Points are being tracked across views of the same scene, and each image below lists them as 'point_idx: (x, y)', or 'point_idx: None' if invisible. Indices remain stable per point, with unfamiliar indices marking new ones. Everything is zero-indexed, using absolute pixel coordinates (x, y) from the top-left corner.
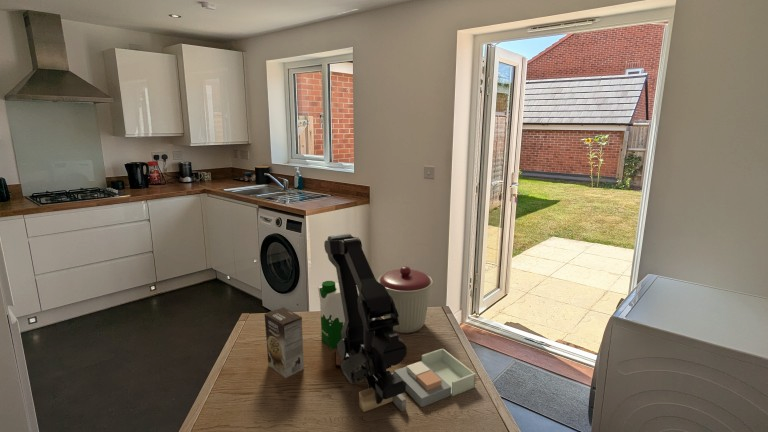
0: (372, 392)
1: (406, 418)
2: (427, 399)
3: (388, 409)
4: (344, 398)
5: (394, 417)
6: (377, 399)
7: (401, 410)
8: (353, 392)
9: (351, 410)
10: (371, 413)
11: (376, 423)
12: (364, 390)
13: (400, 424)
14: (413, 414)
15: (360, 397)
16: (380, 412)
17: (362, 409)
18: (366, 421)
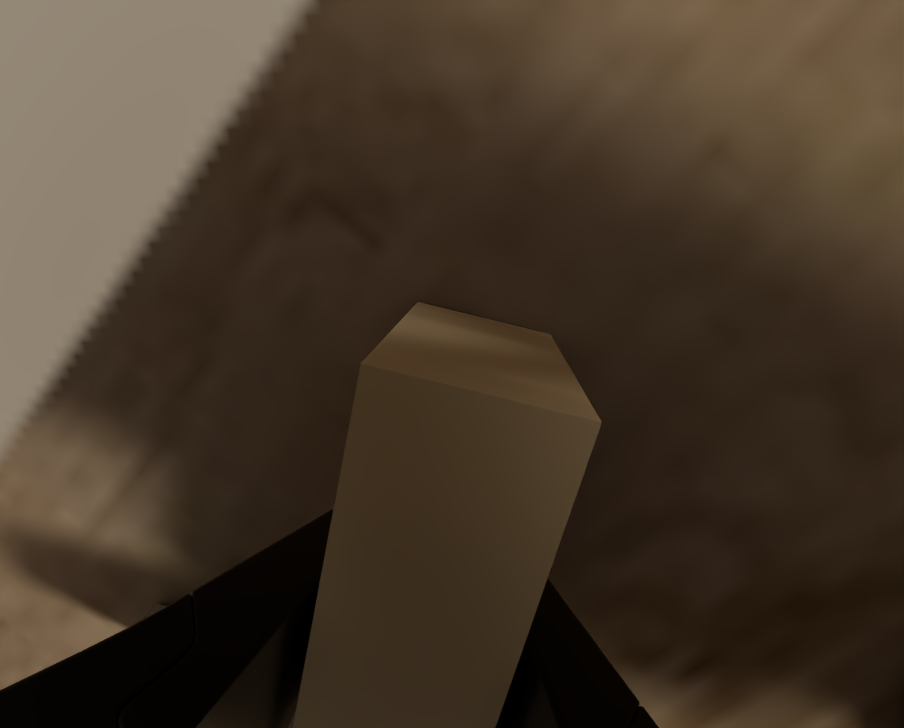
0: (369, 601)
1: (53, 568)
2: None
3: (270, 539)
4: (847, 283)
5: (129, 499)
6: (279, 545)
7: (151, 613)
8: (826, 455)
9: (568, 195)
10: (338, 360)
11: (157, 288)
12: (548, 536)
13: (8, 471)
14: (67, 646)
15: (522, 371)
16: (285, 447)
17: (456, 314)
18: (258, 214)
